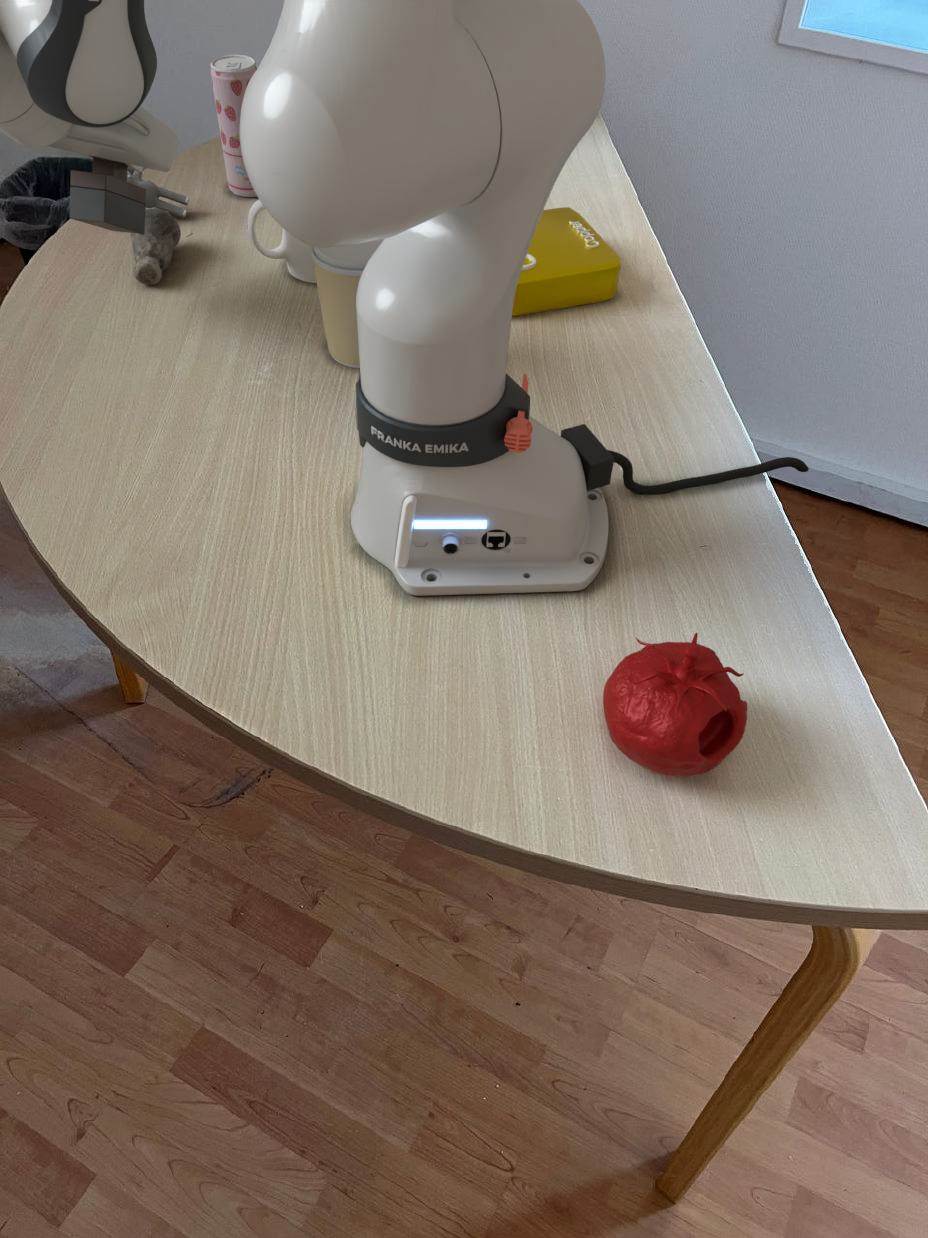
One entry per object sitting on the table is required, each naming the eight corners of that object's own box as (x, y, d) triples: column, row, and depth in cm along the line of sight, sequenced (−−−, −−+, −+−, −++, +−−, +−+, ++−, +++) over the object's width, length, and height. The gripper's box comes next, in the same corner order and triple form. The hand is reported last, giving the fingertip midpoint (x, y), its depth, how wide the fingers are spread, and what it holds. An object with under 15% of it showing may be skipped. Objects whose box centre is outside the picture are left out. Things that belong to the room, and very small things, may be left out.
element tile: (622, 299, 106) (629, 259, 103) (501, 320, 103) (503, 280, 99) (568, 238, 116) (573, 200, 112) (455, 255, 112) (456, 216, 108)
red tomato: (579, 767, 65) (597, 688, 58) (615, 663, 71) (636, 581, 64) (719, 814, 63) (755, 738, 56) (743, 703, 69) (779, 622, 62)
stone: (161, 298, 105) (200, 238, 104) (118, 268, 102) (157, 205, 100) (146, 280, 113) (182, 223, 111) (105, 251, 109) (142, 193, 108)
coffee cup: (427, 348, 99) (426, 239, 90) (362, 384, 94) (355, 274, 85) (367, 314, 103) (361, 207, 94) (302, 347, 98) (289, 238, 89)
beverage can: (238, 201, 119) (218, 73, 108) (222, 183, 122) (201, 57, 111) (279, 192, 121) (264, 66, 110) (263, 175, 124) (246, 50, 113)
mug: (268, 296, 105) (255, 205, 97) (246, 263, 109) (231, 173, 101) (366, 274, 108) (361, 184, 100) (341, 243, 113) (334, 155, 105)
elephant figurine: (176, 239, 113) (99, 211, 110) (177, 254, 118) (104, 228, 116) (198, 160, 113) (122, 130, 110) (198, 180, 119) (125, 152, 116)
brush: (111, 230, 99) (116, 91, 96) (144, 234, 98) (151, 94, 95) (69, 218, 93) (73, 68, 89) (104, 222, 92) (109, 71, 88)
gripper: (135, 71, 79) (216, 147, 93) (-55, 35, 84) (48, 112, 97) (116, 145, 80) (200, 210, 93) (-71, 105, 85) (34, 172, 98)
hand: (121, 159), depth 95 cm, fingers closed on brush, 2 cm apart
